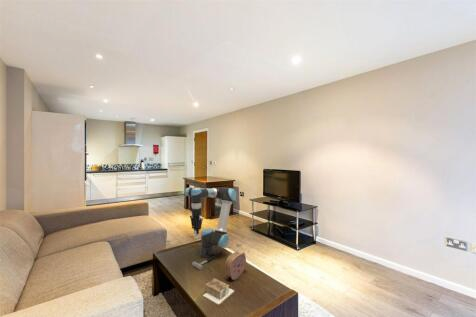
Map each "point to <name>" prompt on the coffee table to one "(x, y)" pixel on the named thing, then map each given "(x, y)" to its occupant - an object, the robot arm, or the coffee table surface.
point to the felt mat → (216, 300)
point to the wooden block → (217, 288)
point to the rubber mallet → (200, 266)
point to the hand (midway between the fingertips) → (196, 237)
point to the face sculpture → (235, 265)
